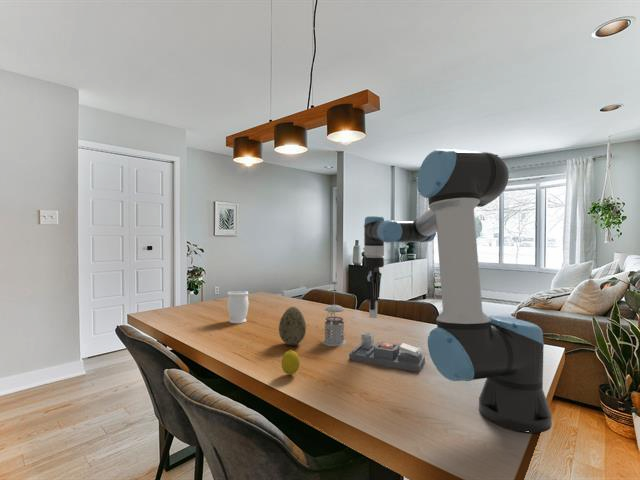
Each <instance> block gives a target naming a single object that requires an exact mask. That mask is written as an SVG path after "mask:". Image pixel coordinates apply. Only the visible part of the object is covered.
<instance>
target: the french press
mask: <svg viewBox="0 0 640 480" xmlns="http://www.w3.org/2000/svg"><path fill="white" fill-rule="evenodd" d="M337 284H338V282H337V281H336V280H333V281H332V285H333V287H334V288H333V302H334V303H333V304H330V305H327V306H326V307H324V311H326V312H327V314H330V316H327V317H326V318H325V320H326V321H324V339H323V341H322V344H323V345H325V346H328V347H342V346H345V345H346V344H347V341H346V340H345V329H344V328H345V322H344V318H343V317H341V316H340V317H339V316H335V313H341V312H344V311H345V308H344V307H343V306H341V305H339V304H335V303H336V301H335V300H336V299H335V297H336V294H335V293H336V291H335V290H336V287H335V286H336V285H337Z"/></svg>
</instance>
